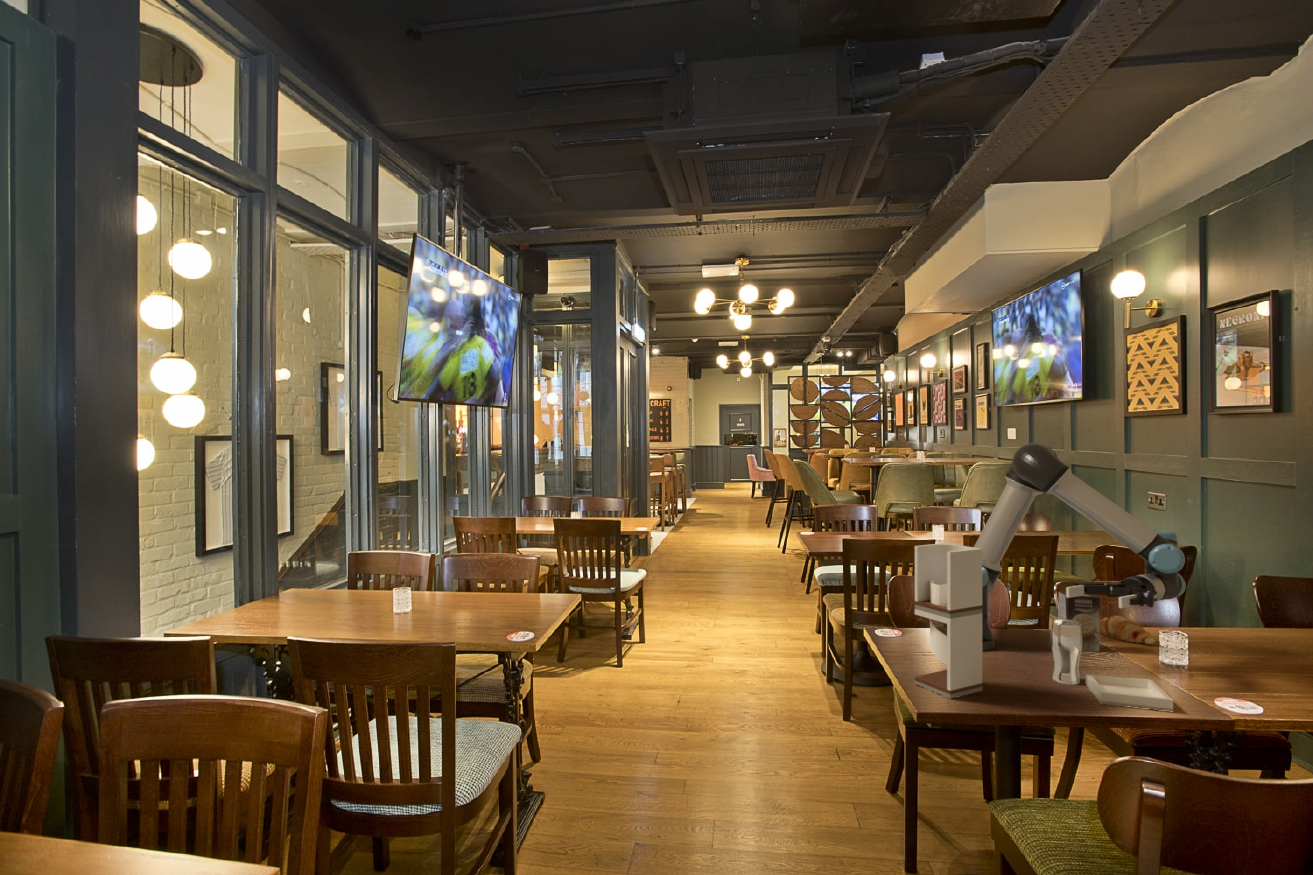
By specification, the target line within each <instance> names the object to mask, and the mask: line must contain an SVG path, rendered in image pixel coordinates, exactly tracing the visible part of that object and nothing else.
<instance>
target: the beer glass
mask: <svg viewBox="0 0 1313 875" xmlns="http://www.w3.org/2000/svg"><path fill="white" fill-rule="evenodd" d="M1050 645H1051V646H1050V647H1051V652H1052V656H1053V664H1054V669H1053V673H1052V680H1053V681H1055V682H1057V683H1059V684H1064V685H1069V686H1070V685H1072V686H1078V685H1080V684H1081V678H1080V672H1079V671H1080V670H1079V665H1080V659H1081V655H1082V629H1081V623H1079V622H1076V621H1072V620H1066V619H1058V618H1054V619H1052V620H1051V626H1050Z"/></svg>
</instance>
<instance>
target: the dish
mask: <svg viewBox="0 0 1313 875" xmlns="http://www.w3.org/2000/svg"><path fill="white" fill-rule="evenodd" d="M1084 675H1085V677H1084V678H1085V679H1084V680H1085V682H1084V683H1085V685H1086V687H1087V688H1088V689H1089V691H1090V692H1091V693H1092V694H1093V695H1094V697H1095V699H1097V701H1098V702H1099V704H1100V705H1103V706H1104V704H1105V706H1111V705H1114V706H1113V707H1120V706H1131V707H1138V708H1149V709H1156V710H1169V711H1173V712H1174V699H1173V698H1171V697H1170V696H1169V695H1168V693H1166V692H1165V691H1164V690H1163V689H1162V688H1161V687H1160V686H1158V684H1156V682H1154V681H1153V680H1152V679H1147V678H1138V677H1129V676H1120V675H1119V676H1118V675H1110V674H1109V675H1108V674H1101V673H1100V674H1099V673H1089V672H1085V674H1084Z"/></svg>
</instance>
